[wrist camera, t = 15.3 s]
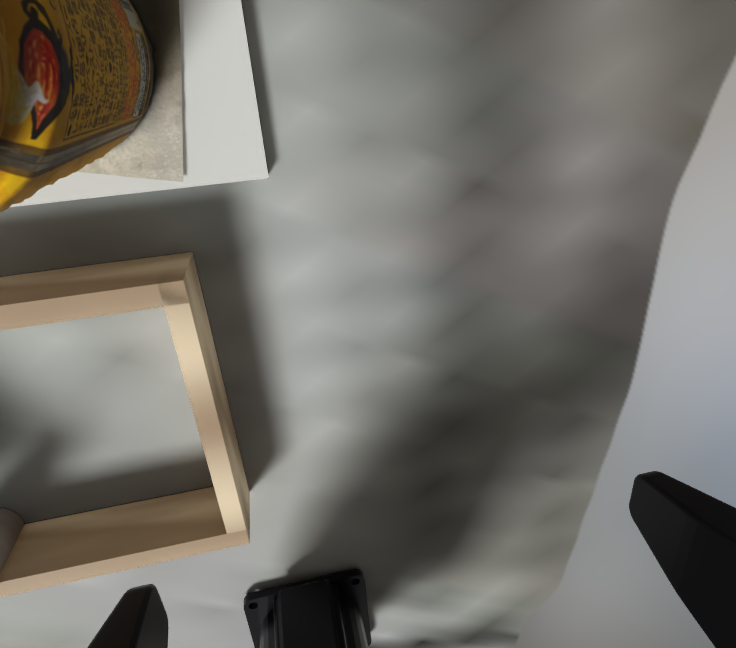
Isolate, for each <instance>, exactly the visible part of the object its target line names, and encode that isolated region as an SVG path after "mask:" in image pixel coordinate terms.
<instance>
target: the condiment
mask: <svg viewBox="0 0 736 648" xmlns="http://www.w3.org/2000/svg"><path fill="white" fill-rule="evenodd" d="M180 38H181V34H180V13H179V0H0V212H2V211H4V210H6V209H7V208H9V207H10V206H11V205H12V204H18V203H21V202H23V201H24V200H25V199H28V198H30V197H32V196H33V195H34V194H35V193H36V192H37V191H38V190H40V189H41V188H43V187H45V186H47V185H53V184H54V183H55V182H56V181H57V180H58V179H60V178H65V177H67V176H69V175H70V174H72V173H74V172H84V173H95V174H105V175H116V176H124V177H135V178H146V179H156V180H167V181H180V182H183V129H182V78H181V44H180Z"/></svg>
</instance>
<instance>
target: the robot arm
mask: <svg viewBox="0 0 736 648" xmlns="http://www.w3.org/2000/svg"><path fill="white" fill-rule="evenodd" d="M629 509H630V513H631V516H632V518H633V520H634V522H635V523H636V525H637V527H638V528H639V530H640V532H641V534H642V535H643V537H644V539H645V540H646V542H647V544H648V545H649V547H650V549H651V551H652V552H653V554H654V556H655V558H656V559H657V561H658V562H659V564H660V566H661V568H662V569H663V571H664V573H665V574H666V576H667V578H668V580H669V581H670V583H671V584H672V586H673V588H674V589H675V591H676V592H677V594H678V595H679V597H680V598H681V600H682V601H683V603H684V604H685V605H686V607H687V608H688V610H689V611H690V613H691V614H692V615H693V617H694V618H695V620H696V621H697V622H698V624H699V625H700V626H701V628H702V629H703V631H704V632H705V633H706V635H707V636H708V638H709V639H710V641H711V642H712V643H713V645H714V646H715V648H736V508H735V507H732V506H730V505H728V504H726V503H723V502H722V501H720V500H718V499H716V498H714V497H712V496H709V495H707V494H705V493H703V492H701V491H699V490H697V489H695V488H693V487H691V486H689V485H686V484H684V483H682V482H680V481H678V480H676V479H674V478H672V477H670V476H668V475H666V474H663V473H661V472H657V471H652V472H648V473H644V474H639V475H638V476H637V477H636V478H635V480H634V485H633V489H632V494H631V499H630V503H629ZM244 611H245V614H246V618H247V621H248V625H249V628H250V632H251V635H252V639H253V642H254V646H255V648H368V646H369V645H370V644H371V634H370V626H369V617H368V608H367V599H366V590H365V581H364V576H363V573H362V571H361V570H359V569H353V570H348V571H344V572H340V573H336V574H331V575H327V576H323V577H318V578H314V579H310V580H305V581H301V582H297V583H293V584H288V585H284V586H280V587H275V588H271V589H267V590H263V591H258V592H254V593H250V594H248V595H247V596H245V598H244ZM167 647H168V618H167V614H166V611H165V608H164V606H163V603H162V601H161V598H160V595H159V593H158V590H157V588H156V587H155V586H154V585H153V584H148V585H143V586H139V587H134V588H131V589H129V590H128V591H127V592H126V593H125V594H124V595H123V597H122V598H121V600H120V601H119V602H118V604H117V605H116V607H115V608H114V610H113V611H112V613H111V614H110V616H109V617H108V619H107V620H106V621H105V623H104V624H103V626H102V627H101V629H100V630H99V632H98V633H97V635H96V636H95V637H94V639H93V640H92V642H91V643H90V645H89V646H88V648H167Z"/></svg>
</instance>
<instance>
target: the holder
mask: <svg viewBox="0 0 736 648" xmlns="http://www.w3.org/2000/svg"><path fill="white" fill-rule="evenodd" d="M158 307H164V309H165V312H166V316H167V320H168V323H169V327H170V330H171V334H172V338H173V341H174V345H175V348H176V352H177V356H178V359H179V363H180V366H181V370H182V374H183V377H184V381H185V385H186V388H187V392H188V395H189V399H190V403H191V406H192V410H193V413H194V417H195V421H196V424H197V428H198V431H199V435H200V439H201V442H202V446H203V449H204V453H205V457H206V460H207V464H208V467H209V471H210V475H211V478H212V482H213V485H214V487H209V488H204V489H199V490H194V491H189V492H184V493H179V494H174V495H169V496H164V497H159V498H154V499H149V500H144V501H139V502H134V503H129V504H124V505H119V506H114V507H109V508H104V509H99V510H94V511H89V512H84V513H79V514H74V515H69V516H64V517H59V518H54V519H49V520H44V521H39V522H34V523H29V524H24V521H23V519H22V518H21V517H20V516H19V515H18V514H17V513H15V512H13V511H11V510H8V509H4V508H0V596H1V597H4V596H9V595H13V594H18V593H23V592H27V591H32V590H36V589H41V588H45V587H50V586H55V585H59V584H64V583H68V582H73V581H78V580H82V579H87V578H91V577H96V576H101V575H105V574H110V573H114V572H119V571H123V570H128V569H133V568H137V567H142V566H146V565H151V564H156V563H160V562H165V561H169V560H174V559H178V558H183V557H188V556H192V555H197V554H201V553H206V552H211V551H215V550H220V549H224V548H229V547H233V546H238V545H243V544H247V543H250V499H249V489H248V484H247V480H246V476H245V472H244V467H243V463H242V459H241V455H240V451H239V446H238V442H237V438H236V434H235V429H234V425H233V421H232V417H231V413H230V408H229V404H228V400H227V396H226V392H225V387H224V383H223V379H222V375H221V370H220V366H219V362H218V358H217V354H216V349H215V345H214V341H213V337H212V333H211V328H210V324H209V320H208V316H207V311H206V307H205V303H204V299H203V295H202V290H201V286H200V282H199V278H198V274H197V269H196V265H195V261H194V257H193V252H187V253H180V254H172V255H164V256H157V257H149V258H141V259H134V260H126V261H119V262H111V263H103V264H96V265H88V266H80V267H73V268H65V269H57V270H50V271H42V272H35V273H27V274H19V275H12V276H4V277H0V330H6V329H13V328H20V327H27V326H34V325H41V324H48V323H54V322H61V321H68V320H75V319H82V318H89V317H96V316H103V315H109V314H116V313H123V312H130V311H137V310H144V309H151V308H158Z"/></svg>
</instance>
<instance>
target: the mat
mask: <svg viewBox="0 0 736 648" xmlns="http://www.w3.org/2000/svg"><path fill="white" fill-rule="evenodd" d="M179 13H180V34H181V38H180V44H181V78H182V129H183V182H180V181H167V180H156V179H146V178H135V177H124V176H116V175H105V174H95V173H84V172H74V173H72V174H70V175H69V176H67V177H65V178H60V179H58V180H57V181H56V182H55V183H54V184H53V185H47V186H45V187H43V188H41V189H40V190H38V191H37V192H36V193H35V194H34V195H33V196H32V197H30V198H28V199H25V200H24V201H23V202H21V203H18V204H12V205H11V206H10V207H16V206H25V205H34V204H43V203H52V202H61V201H70V200H79V199H88V198H96V197H105V196H114V195H123V194H132V193H141V192H150V191H159V190H168V189H177V188H186V187H194V186H203V185H212V184H221V183H230V182H239V181H248V180H257V179H266V178H269V177H268V170H267V164H266V158H265V151H264V145H263V138H262V132H261V126H260V119H259V113H258V106H257V100H256V94H255V87H254V81H253V74H252V68H251V62H250V55H249V49H248V43H247V36H246V30H245V23H244V17H243V11H242V4H241V0H179Z"/></svg>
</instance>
